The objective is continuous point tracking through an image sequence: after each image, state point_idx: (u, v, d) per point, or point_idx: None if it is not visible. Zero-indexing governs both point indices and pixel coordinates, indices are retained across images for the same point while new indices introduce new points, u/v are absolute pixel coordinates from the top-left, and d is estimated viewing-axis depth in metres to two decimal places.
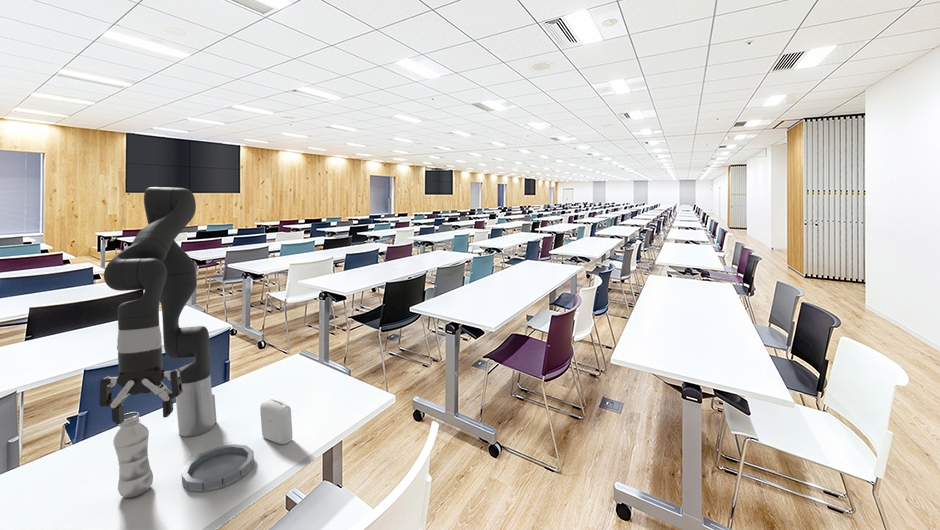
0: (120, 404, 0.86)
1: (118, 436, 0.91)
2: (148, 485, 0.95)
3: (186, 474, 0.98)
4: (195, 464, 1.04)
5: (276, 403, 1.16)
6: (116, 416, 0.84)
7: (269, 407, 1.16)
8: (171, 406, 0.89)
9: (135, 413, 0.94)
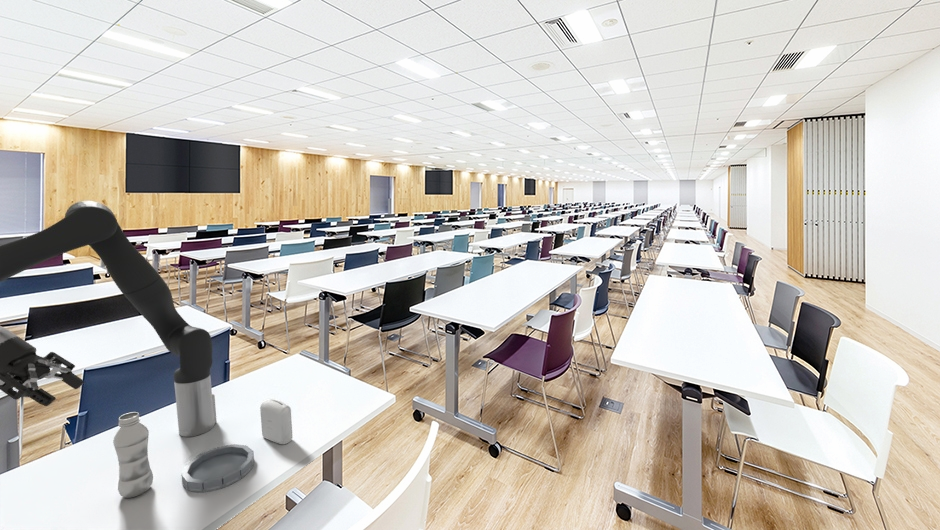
0: (64, 375, 0.92)
1: (118, 436, 0.91)
2: (148, 485, 0.95)
3: (186, 474, 0.98)
4: (195, 464, 1.04)
5: (276, 403, 1.16)
6: None
7: (269, 407, 1.16)
8: (37, 399, 0.84)
9: (135, 413, 0.94)
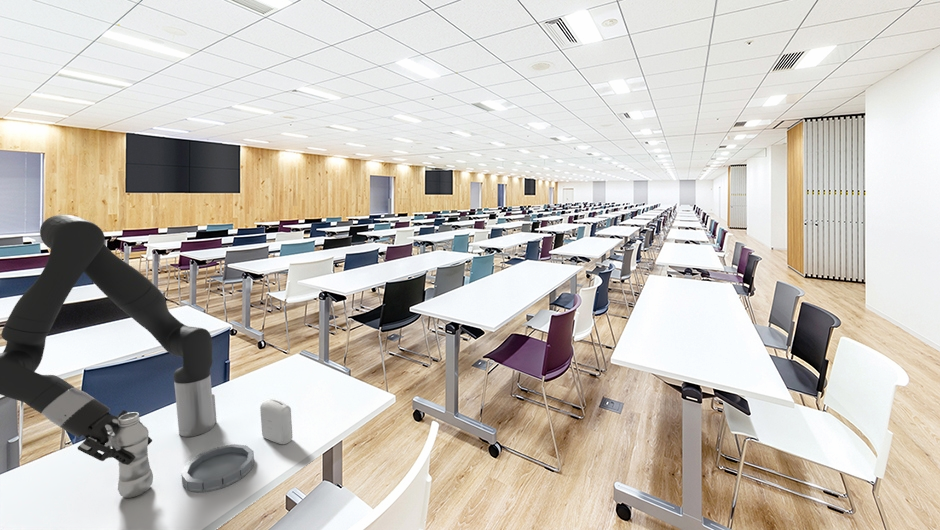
0: None
1: (117, 437, 0.91)
2: (148, 485, 0.95)
3: (186, 474, 0.98)
4: (195, 464, 1.04)
5: (276, 403, 1.16)
6: None
7: (269, 407, 1.16)
8: (120, 459, 0.90)
9: (135, 413, 0.94)
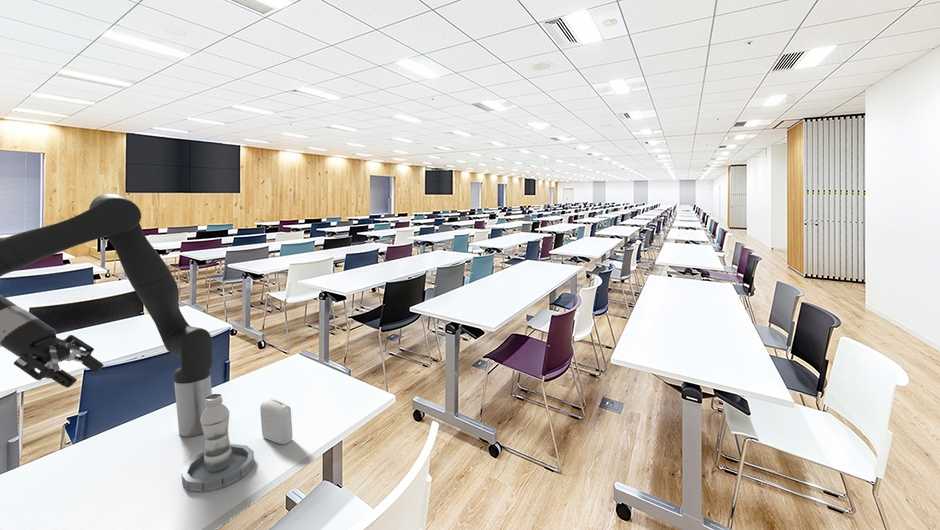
0: (84, 358, 0.93)
1: (205, 415, 0.99)
2: (229, 461, 1.03)
3: (186, 474, 0.98)
4: (195, 464, 1.04)
5: (276, 403, 1.16)
6: None
7: (269, 407, 1.16)
8: (59, 380, 0.84)
9: (218, 394, 1.03)
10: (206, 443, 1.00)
